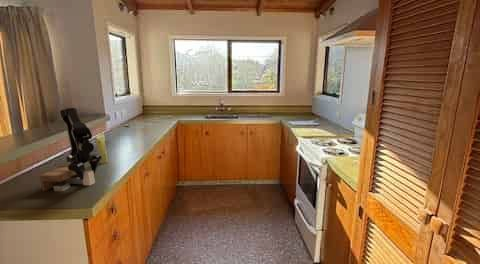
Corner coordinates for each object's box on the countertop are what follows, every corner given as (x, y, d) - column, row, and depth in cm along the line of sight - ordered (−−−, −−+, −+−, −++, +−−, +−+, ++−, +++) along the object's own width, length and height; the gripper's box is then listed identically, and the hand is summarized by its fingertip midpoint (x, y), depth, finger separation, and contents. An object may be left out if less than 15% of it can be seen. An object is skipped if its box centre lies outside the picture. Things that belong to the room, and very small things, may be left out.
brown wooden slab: (63, 180, 151) (60, 166, 149) (82, 180, 150) (79, 166, 148) (42, 190, 138) (39, 175, 136) (62, 191, 136) (59, 176, 134)
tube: (107, 163, 178) (103, 135, 174) (99, 164, 176) (94, 136, 172) (108, 160, 183) (104, 133, 179) (99, 161, 181) (95, 134, 177)
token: (61, 187, 142) (60, 182, 142) (70, 187, 142) (69, 182, 141) (54, 191, 137) (53, 186, 137) (63, 191, 137) (62, 186, 136)
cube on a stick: (69, 181, 149) (67, 169, 148) (95, 182, 147) (93, 170, 145) (63, 184, 145) (61, 172, 144) (90, 185, 143) (88, 173, 141)
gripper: (82, 144, 151) (86, 169, 155) (55, 154, 133) (61, 183, 137) (100, 144, 149) (104, 170, 153) (75, 154, 131) (80, 183, 135)
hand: (88, 176), depth 144 cm, fingers open, 9 cm apart
